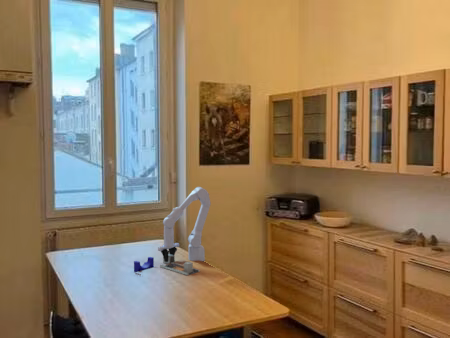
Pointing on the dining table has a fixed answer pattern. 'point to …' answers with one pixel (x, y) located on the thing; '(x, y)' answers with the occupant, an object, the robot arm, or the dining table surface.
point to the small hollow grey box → (188, 267)
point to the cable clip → (144, 265)
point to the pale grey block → (169, 259)
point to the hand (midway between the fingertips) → (168, 260)
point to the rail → (178, 268)
